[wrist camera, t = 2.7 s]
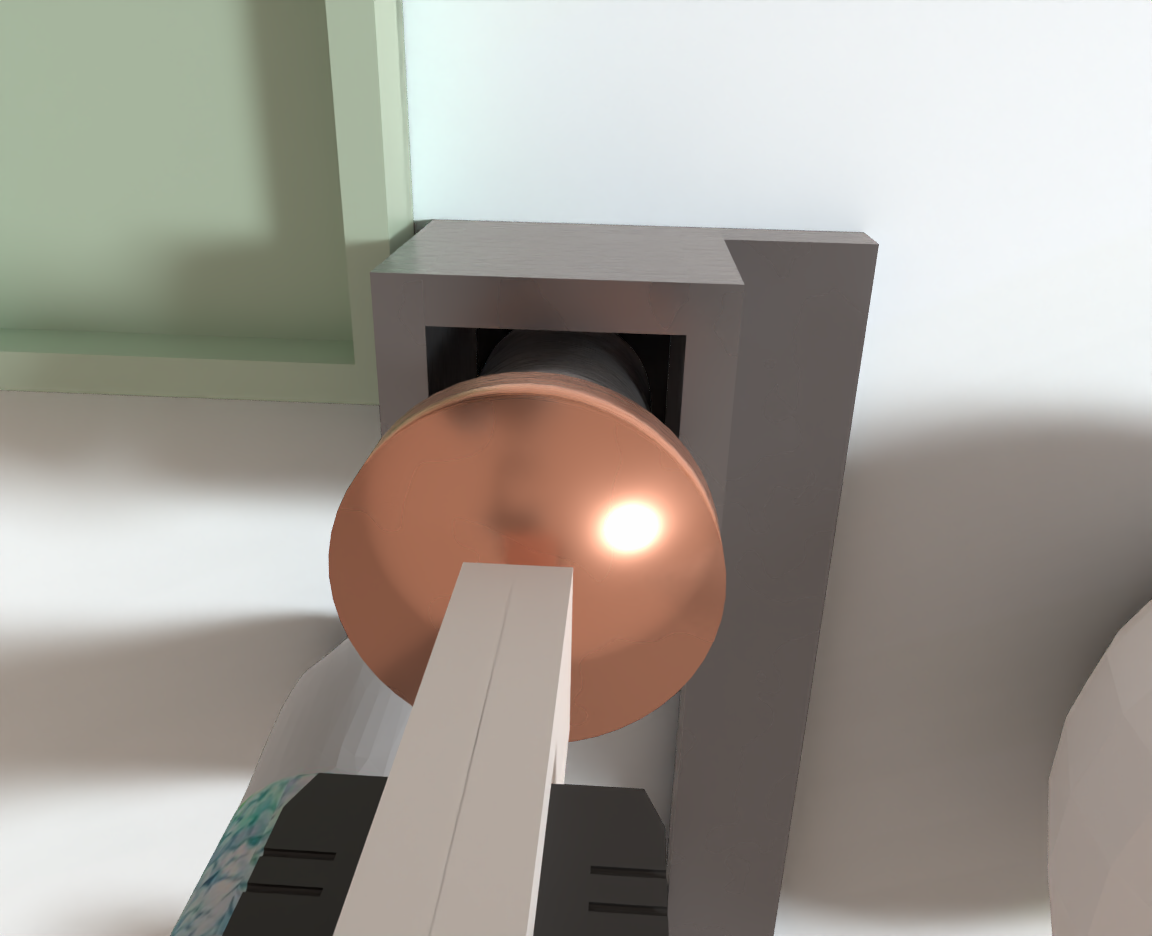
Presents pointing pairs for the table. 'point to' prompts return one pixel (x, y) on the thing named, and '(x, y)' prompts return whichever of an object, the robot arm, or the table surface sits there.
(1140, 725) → the vase
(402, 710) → the bottle
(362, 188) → the tray
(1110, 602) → the table surface
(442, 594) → the plunger
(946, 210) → the table surface
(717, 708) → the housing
